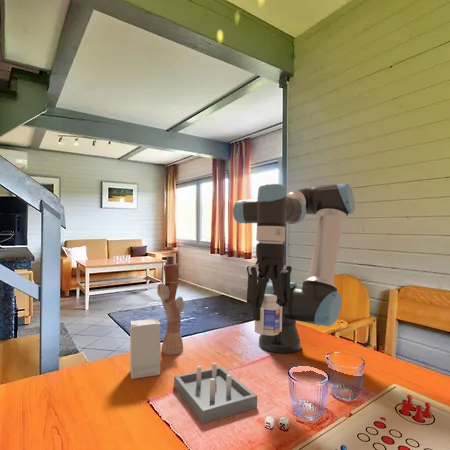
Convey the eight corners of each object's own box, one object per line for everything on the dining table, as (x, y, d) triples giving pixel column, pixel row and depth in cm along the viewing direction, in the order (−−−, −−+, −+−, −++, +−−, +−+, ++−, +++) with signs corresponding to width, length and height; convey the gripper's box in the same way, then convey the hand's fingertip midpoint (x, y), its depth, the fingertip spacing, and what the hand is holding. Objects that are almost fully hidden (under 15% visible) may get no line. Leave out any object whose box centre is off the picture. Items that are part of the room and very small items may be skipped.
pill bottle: (279, 336, 77) (280, 297, 78) (257, 335, 78) (258, 296, 79) (279, 330, 83) (279, 294, 83) (258, 329, 84) (259, 293, 84)
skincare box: (157, 367, 93) (159, 317, 93) (160, 376, 87) (162, 323, 87) (128, 371, 90) (130, 319, 90) (129, 380, 84) (131, 325, 85)
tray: (173, 386, 81) (174, 362, 81) (220, 375, 88) (221, 353, 88) (202, 423, 65) (203, 394, 66) (257, 407, 72) (257, 380, 72)
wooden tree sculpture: (180, 345, 111) (182, 262, 112) (188, 352, 105) (190, 264, 106) (151, 350, 106) (154, 262, 107) (157, 357, 100) (160, 264, 101)
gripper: (250, 242, 74) (247, 340, 73) (306, 244, 83) (304, 331, 82) (233, 241, 80) (230, 332, 79) (286, 243, 90) (285, 324, 88)
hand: (268, 331), depth 81 cm, fingers closed on pill bottle, 5 cm apart
